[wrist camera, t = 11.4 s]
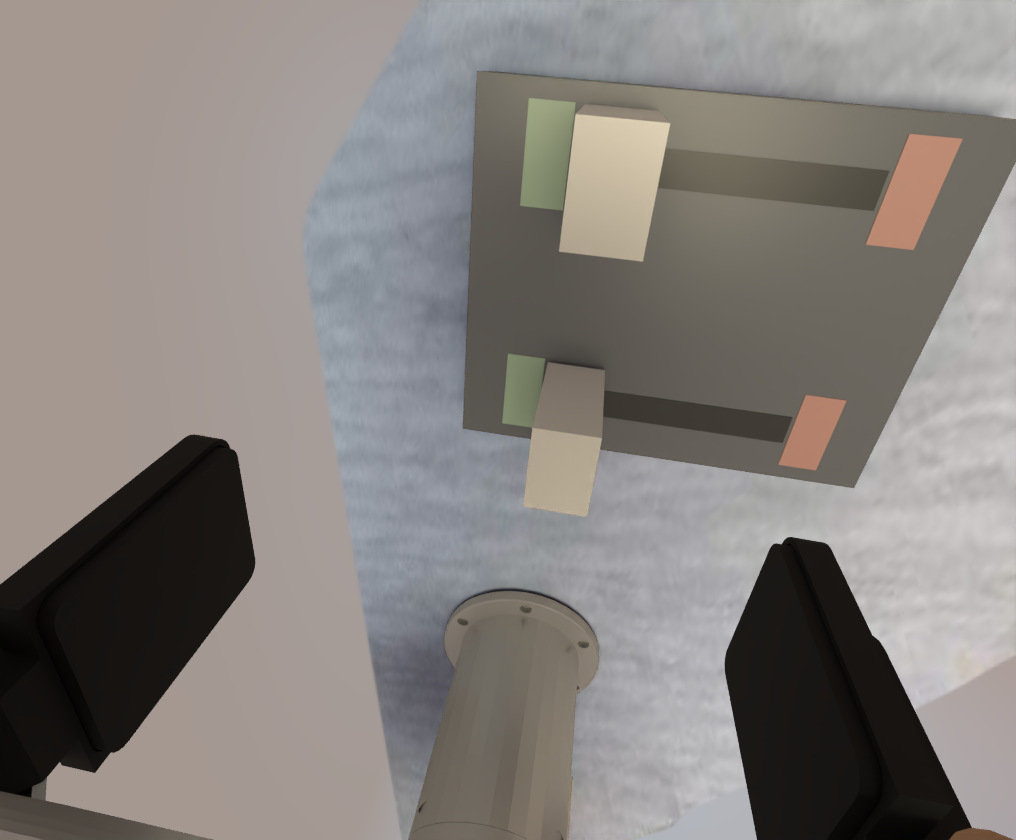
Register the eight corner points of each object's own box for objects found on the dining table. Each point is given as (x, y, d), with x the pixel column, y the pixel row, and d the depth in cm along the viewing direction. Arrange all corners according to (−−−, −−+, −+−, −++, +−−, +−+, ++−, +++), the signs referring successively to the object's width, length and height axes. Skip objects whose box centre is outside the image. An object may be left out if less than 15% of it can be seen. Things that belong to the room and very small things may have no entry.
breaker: (592, 440, 32) (586, 516, 27) (539, 432, 33) (523, 506, 27) (605, 370, 30) (601, 438, 25) (547, 362, 30) (532, 427, 25)
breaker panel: (836, 457, 34) (854, 488, 32) (473, 403, 36) (462, 428, 34) (992, 116, 25) (1036, 122, 22) (490, 71, 27) (476, 71, 24)
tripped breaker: (637, 220, 26) (642, 261, 21) (571, 213, 26) (559, 251, 21) (658, 110, 24) (670, 123, 18) (585, 103, 24) (575, 114, 19)
